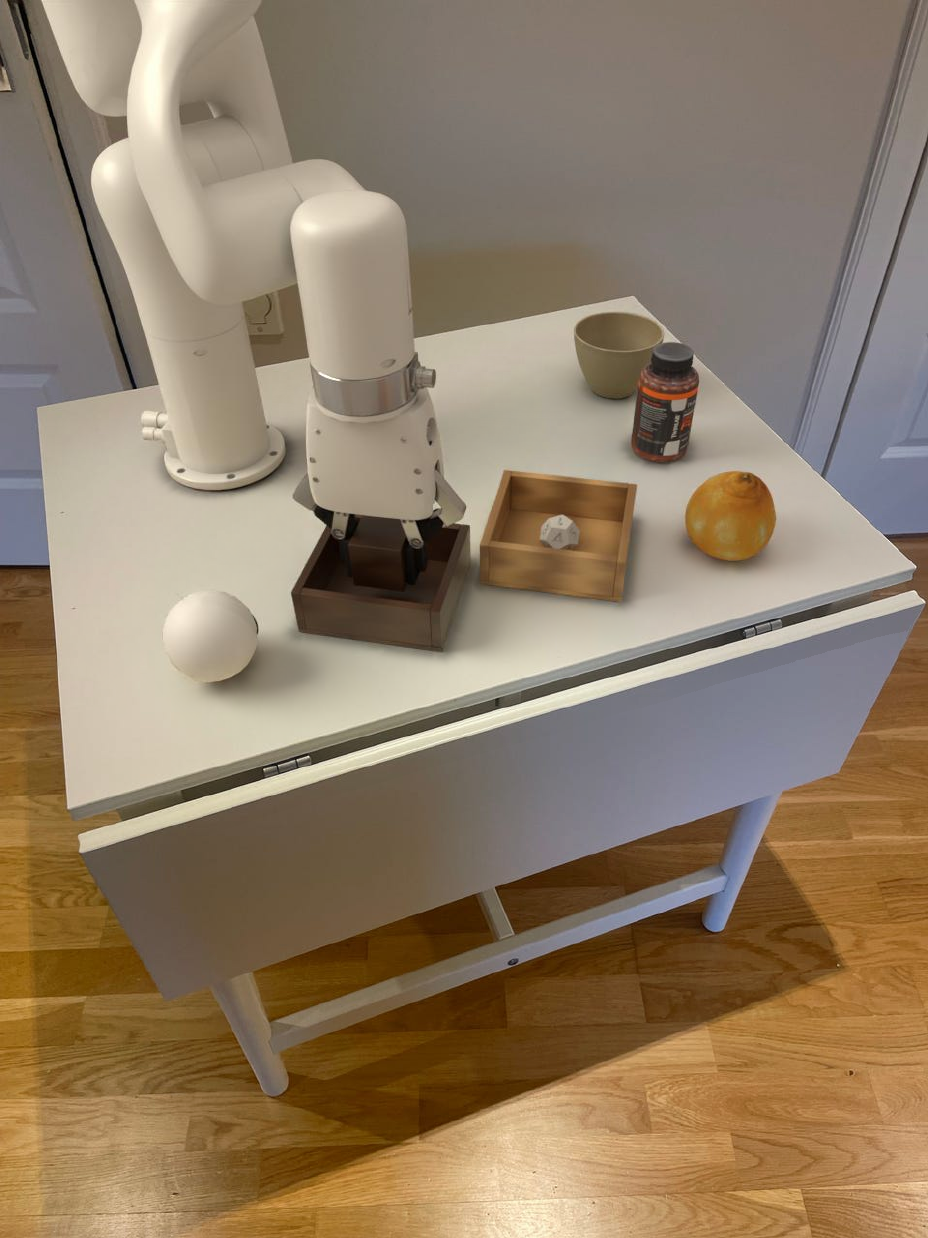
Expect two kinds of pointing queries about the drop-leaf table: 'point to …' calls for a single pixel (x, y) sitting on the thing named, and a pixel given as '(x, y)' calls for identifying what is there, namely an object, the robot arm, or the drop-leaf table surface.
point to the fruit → (731, 516)
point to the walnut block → (378, 553)
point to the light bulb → (210, 636)
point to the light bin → (531, 566)
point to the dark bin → (384, 595)
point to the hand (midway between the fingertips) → (385, 569)
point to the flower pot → (615, 350)
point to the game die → (559, 533)
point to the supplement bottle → (665, 403)
